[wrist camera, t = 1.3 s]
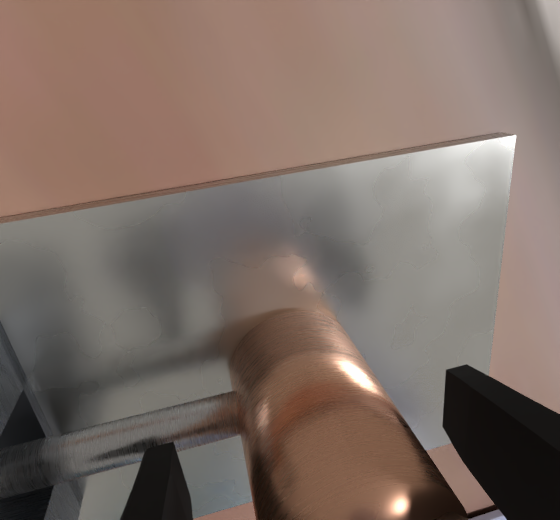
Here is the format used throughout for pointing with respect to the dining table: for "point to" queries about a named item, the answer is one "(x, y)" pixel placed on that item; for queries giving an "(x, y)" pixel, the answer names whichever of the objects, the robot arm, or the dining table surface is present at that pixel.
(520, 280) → the dining table surface
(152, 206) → the grey plate
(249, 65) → the dining table surface
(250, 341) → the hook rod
